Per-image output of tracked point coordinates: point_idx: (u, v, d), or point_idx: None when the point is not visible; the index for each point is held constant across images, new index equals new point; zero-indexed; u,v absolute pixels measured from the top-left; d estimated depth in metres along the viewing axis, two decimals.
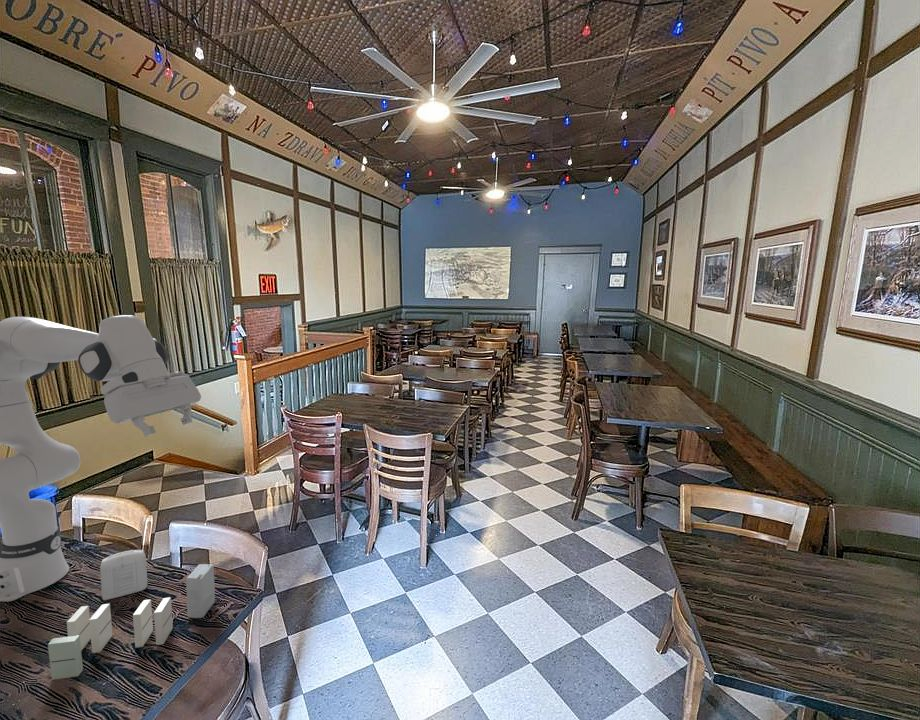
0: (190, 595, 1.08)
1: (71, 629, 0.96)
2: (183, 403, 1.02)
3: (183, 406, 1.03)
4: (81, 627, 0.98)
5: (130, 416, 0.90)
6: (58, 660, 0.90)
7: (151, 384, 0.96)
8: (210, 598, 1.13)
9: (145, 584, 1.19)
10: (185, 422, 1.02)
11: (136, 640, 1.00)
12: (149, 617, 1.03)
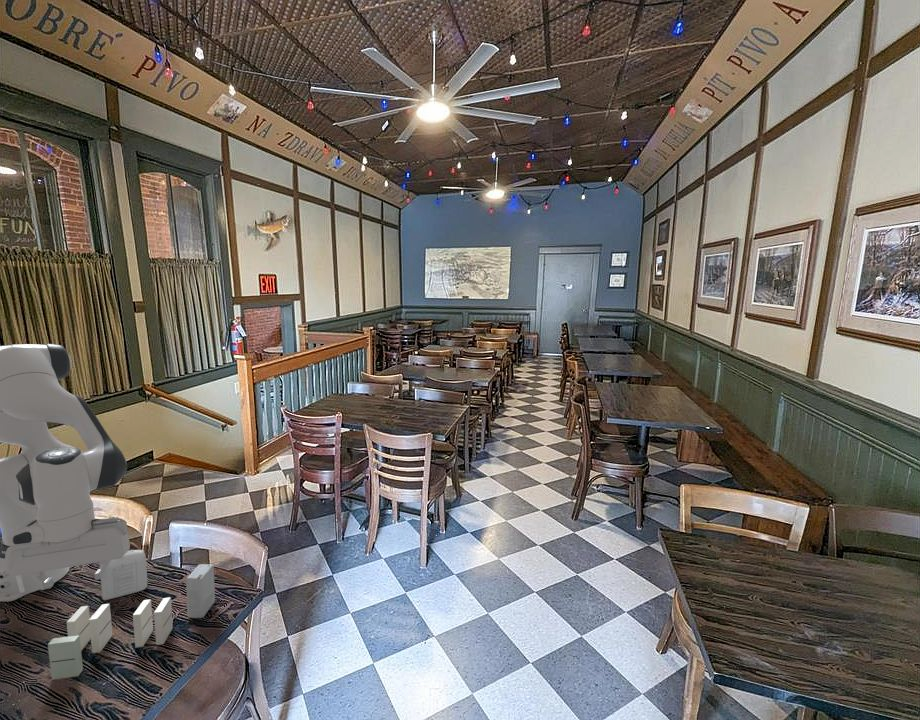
0: (190, 595, 1.08)
1: (71, 629, 0.96)
2: (93, 562, 0.89)
3: None
4: (81, 627, 0.98)
5: (17, 574, 0.85)
6: (58, 660, 0.90)
7: (51, 543, 0.85)
8: (210, 598, 1.13)
9: (145, 584, 1.19)
10: None
11: (136, 640, 1.00)
12: (149, 617, 1.03)
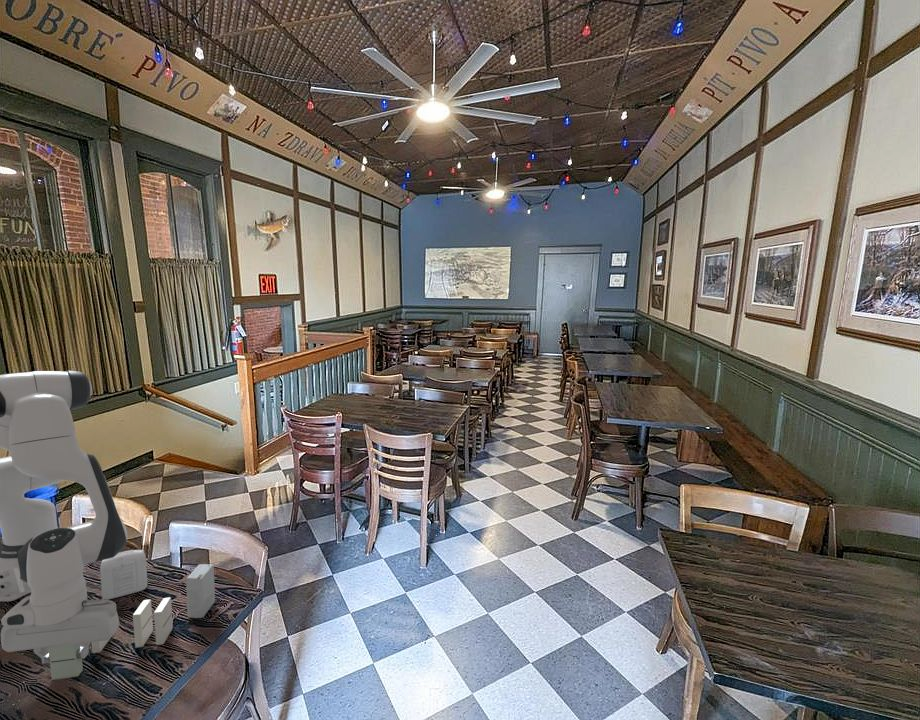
0: (190, 595, 1.08)
1: None
2: (82, 642, 0.90)
3: None
4: None
5: (12, 651, 0.87)
6: (58, 660, 0.90)
7: None
8: (210, 598, 1.13)
9: (145, 584, 1.19)
10: None
11: (136, 640, 1.00)
12: (149, 617, 1.03)
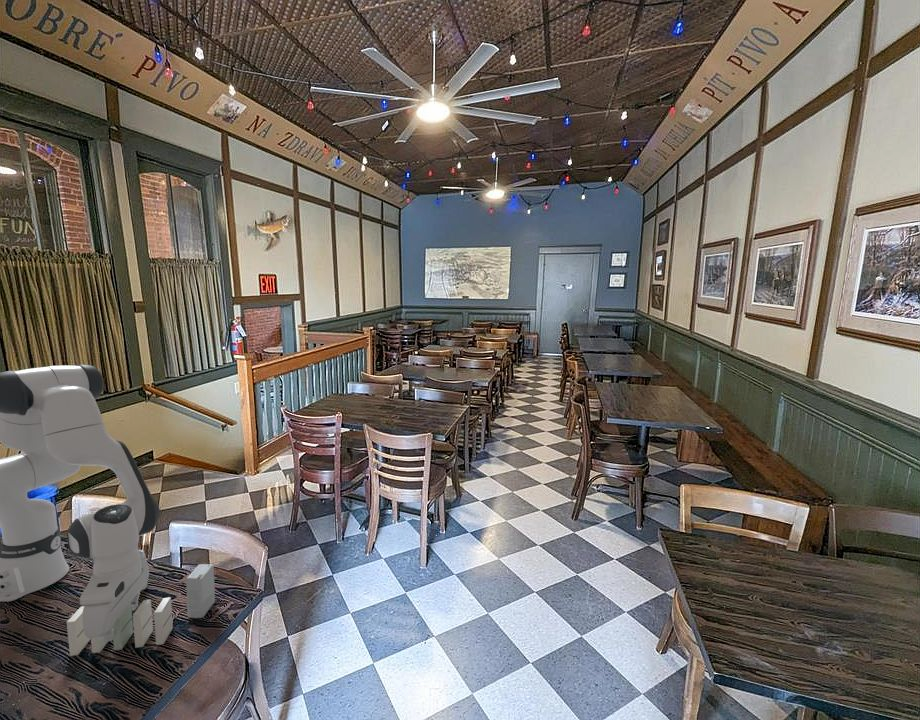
0: (190, 595, 1.08)
1: (71, 629, 0.96)
2: (138, 591, 1.05)
3: None
4: (81, 627, 0.98)
5: (108, 630, 0.92)
6: (123, 627, 1.00)
7: (127, 585, 0.98)
8: (210, 598, 1.13)
9: (145, 584, 1.19)
10: (131, 609, 1.05)
11: (136, 640, 1.00)
12: (149, 617, 1.03)
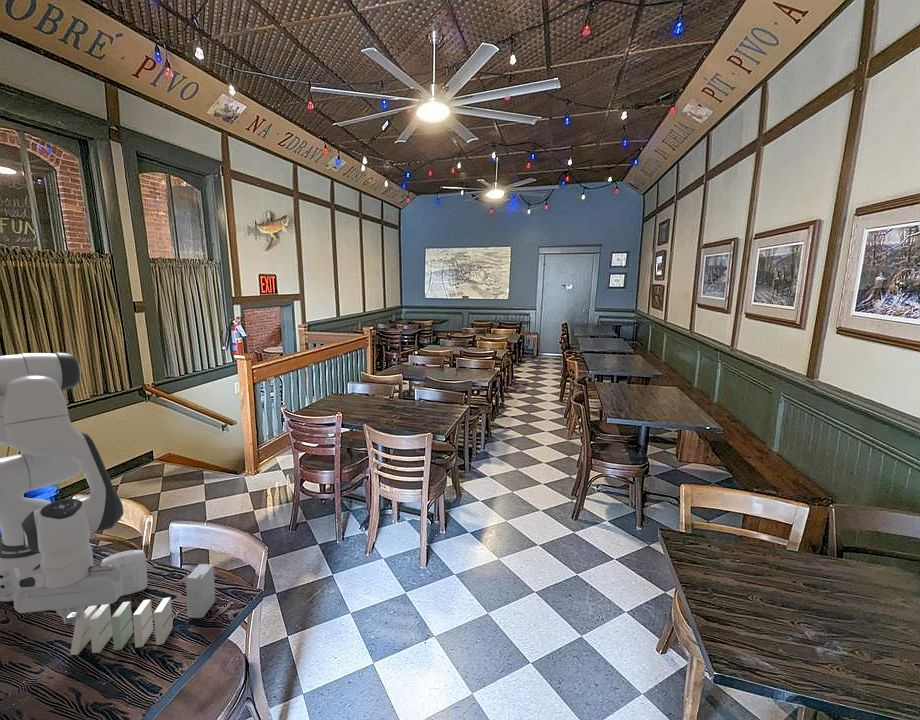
0: (190, 595, 1.08)
1: (78, 628, 0.96)
2: (88, 605, 0.97)
3: None
4: (87, 627, 0.98)
5: (24, 612, 0.94)
6: (123, 627, 1.00)
7: (52, 587, 0.93)
8: (210, 598, 1.13)
9: (145, 584, 1.19)
10: None
11: (136, 640, 1.00)
12: (149, 617, 1.03)
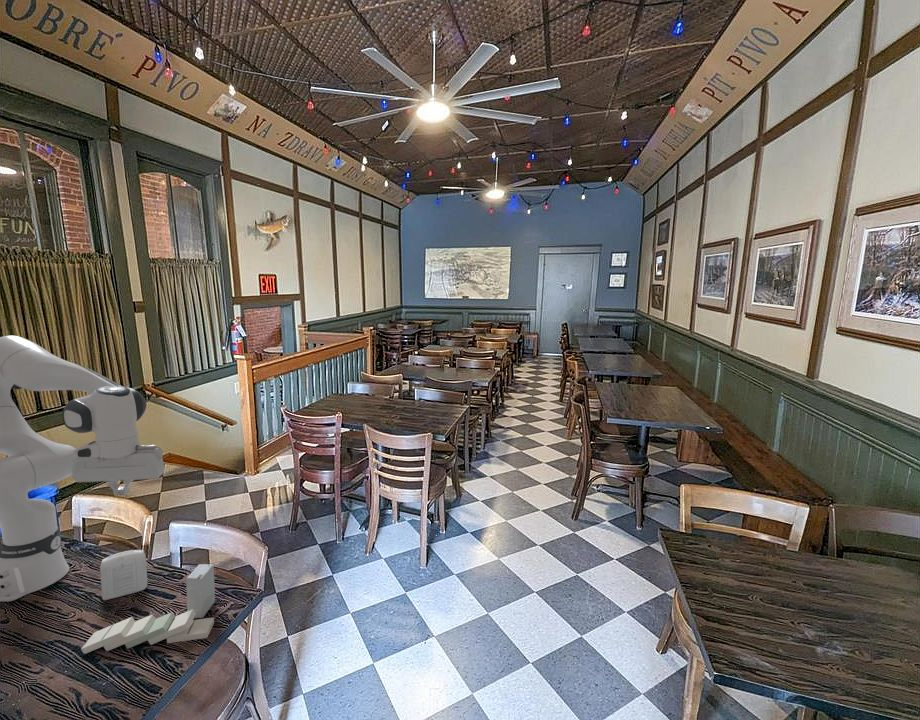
0: (190, 595, 1.08)
1: (113, 638, 0.98)
2: (135, 479, 1.10)
3: None
4: None
5: (80, 481, 1.07)
6: None
7: (105, 459, 1.07)
8: (210, 598, 1.13)
9: (145, 584, 1.19)
10: None
11: (156, 637, 1.01)
12: None
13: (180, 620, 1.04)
